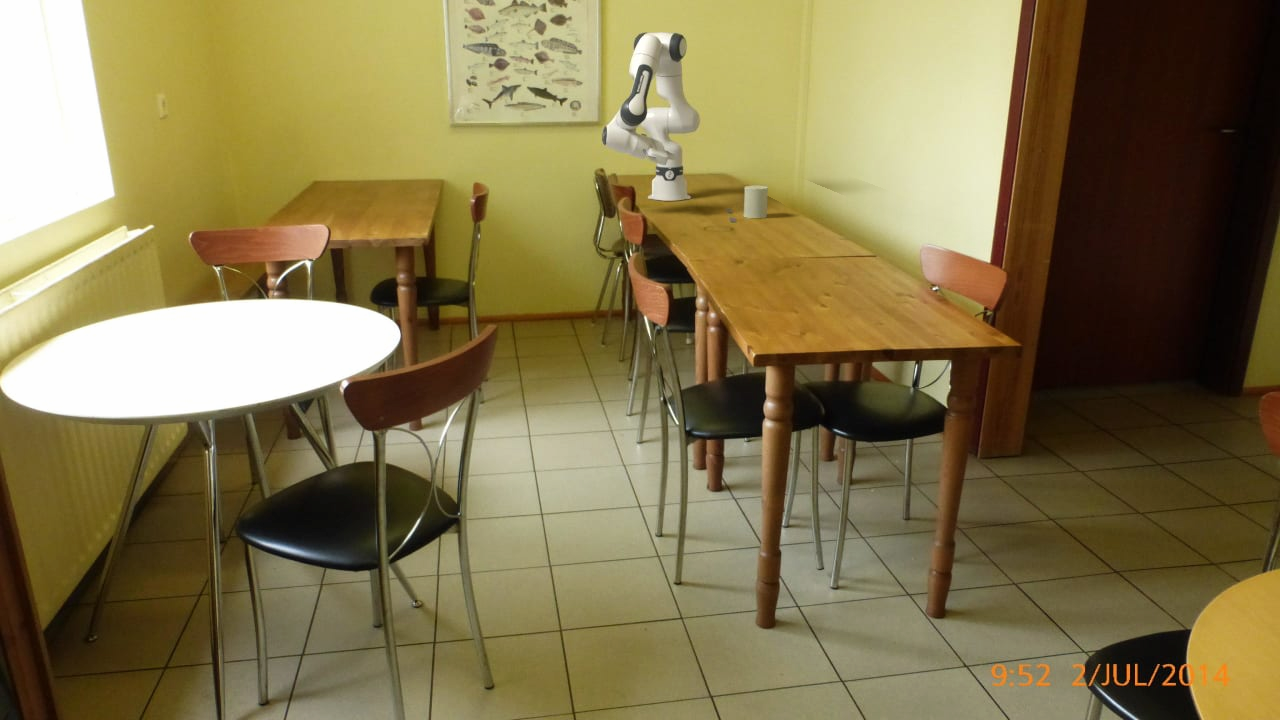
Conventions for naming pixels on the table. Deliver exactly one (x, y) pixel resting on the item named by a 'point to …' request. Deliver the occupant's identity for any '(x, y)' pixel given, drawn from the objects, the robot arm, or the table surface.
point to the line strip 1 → (729, 211)
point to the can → (755, 202)
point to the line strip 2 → (732, 219)
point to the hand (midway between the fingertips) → (675, 157)
